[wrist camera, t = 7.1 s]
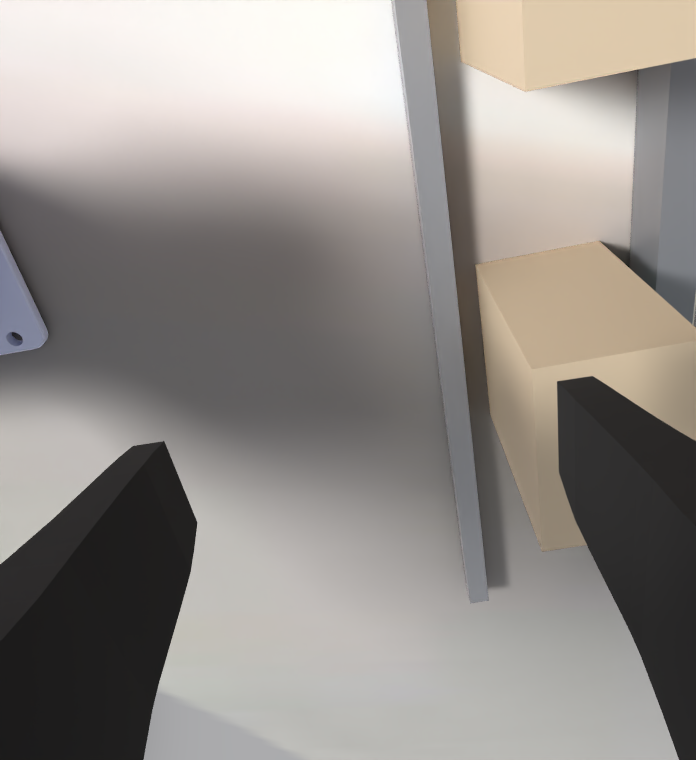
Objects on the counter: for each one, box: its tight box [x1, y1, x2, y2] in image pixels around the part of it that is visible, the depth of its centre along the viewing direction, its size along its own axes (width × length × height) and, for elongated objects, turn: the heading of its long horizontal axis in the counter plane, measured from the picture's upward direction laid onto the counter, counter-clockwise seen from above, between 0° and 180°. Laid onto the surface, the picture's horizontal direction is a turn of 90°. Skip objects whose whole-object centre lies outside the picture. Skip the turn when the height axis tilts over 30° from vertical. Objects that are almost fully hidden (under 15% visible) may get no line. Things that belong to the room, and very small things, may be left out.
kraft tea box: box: [475, 241, 696, 552], centre depth 19 cm, size 4×6×7 cm
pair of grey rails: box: [391, 0, 696, 603], centre depth 21 cm, size 8×26×2 cm, turn 10°
